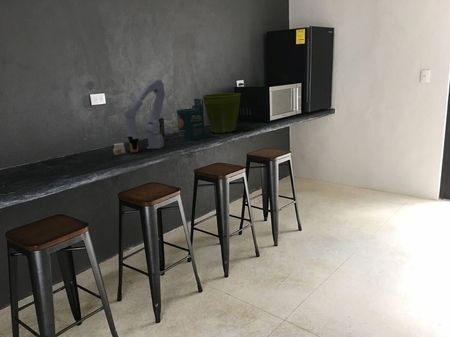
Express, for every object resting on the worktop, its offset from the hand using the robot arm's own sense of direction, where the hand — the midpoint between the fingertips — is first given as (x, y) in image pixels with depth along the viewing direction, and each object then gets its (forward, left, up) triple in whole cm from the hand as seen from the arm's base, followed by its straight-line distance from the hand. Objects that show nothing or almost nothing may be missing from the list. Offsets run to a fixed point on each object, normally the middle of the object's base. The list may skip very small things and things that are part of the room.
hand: (134, 148), depth 242 cm
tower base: (+7, +6, -2) cm, 10 cm away
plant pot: (-41, -70, -2) cm, 81 cm away
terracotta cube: (0, 0, -2) cm, 2 cm away
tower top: (+7, +5, +1) cm, 9 cm away
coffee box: (-3, -33, -2) cm, 33 cm away
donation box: (-24, -42, -2) cm, 49 cm away
